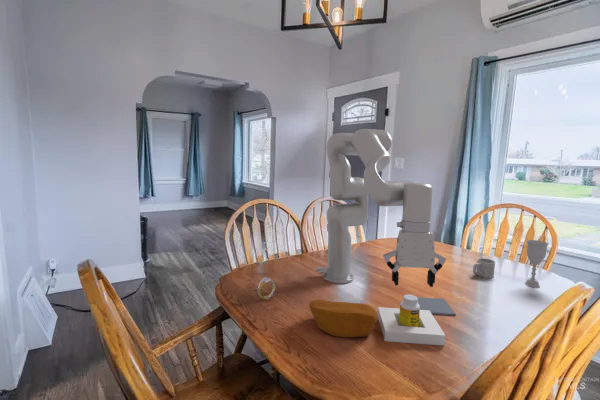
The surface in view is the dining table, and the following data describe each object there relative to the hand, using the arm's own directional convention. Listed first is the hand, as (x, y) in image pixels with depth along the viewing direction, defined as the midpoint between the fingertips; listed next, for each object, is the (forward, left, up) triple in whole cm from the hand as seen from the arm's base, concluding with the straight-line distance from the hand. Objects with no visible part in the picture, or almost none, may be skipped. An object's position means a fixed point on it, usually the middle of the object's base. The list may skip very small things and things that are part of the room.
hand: (412, 284), depth 90 cm
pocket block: (0, 0, -14) cm, 14 cm away
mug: (+43, +49, -15) cm, 67 cm away
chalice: (+59, +41, -15) cm, 73 cm away
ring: (-46, +14, -15) cm, 51 cm away
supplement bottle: (0, 0, -15) cm, 15 cm away
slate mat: (+12, +16, -14) cm, 25 cm away
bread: (-20, 0, -15) cm, 25 cm away
